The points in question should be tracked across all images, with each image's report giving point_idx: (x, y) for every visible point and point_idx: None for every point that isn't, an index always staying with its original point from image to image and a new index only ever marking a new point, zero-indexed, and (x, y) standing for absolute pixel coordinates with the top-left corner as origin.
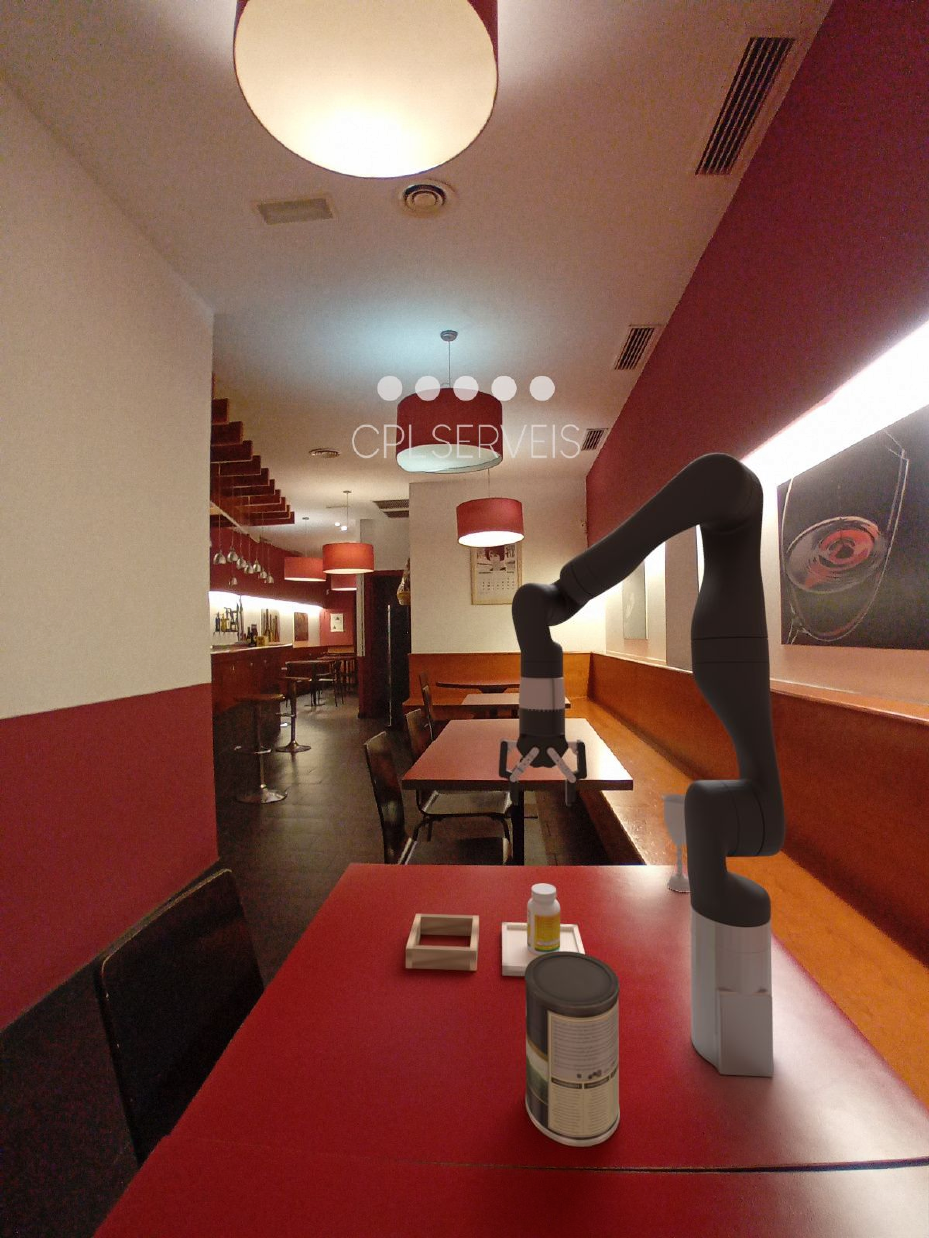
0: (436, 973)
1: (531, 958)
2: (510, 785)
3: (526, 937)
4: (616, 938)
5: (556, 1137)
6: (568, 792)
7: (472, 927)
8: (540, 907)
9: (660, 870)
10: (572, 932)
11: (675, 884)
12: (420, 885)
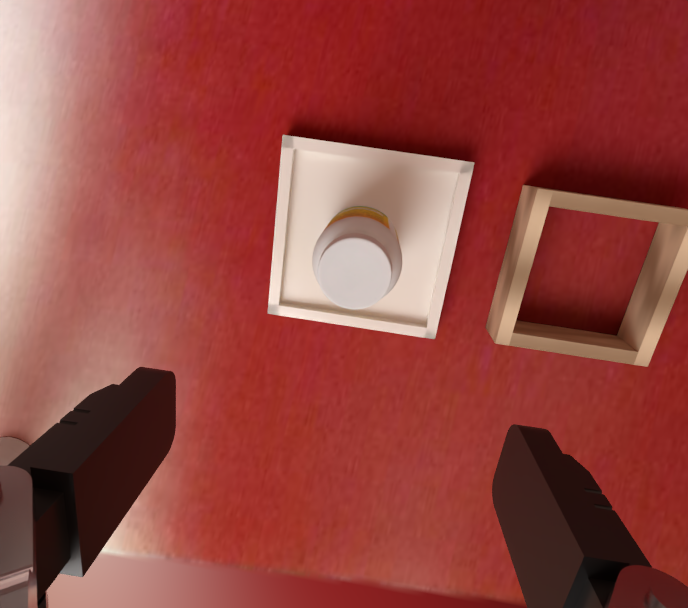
0: (614, 181)
1: (397, 203)
2: (635, 554)
3: None
4: (193, 280)
5: None
6: (111, 416)
7: (523, 291)
8: (373, 231)
9: None
10: (283, 296)
11: (16, 456)
12: None
